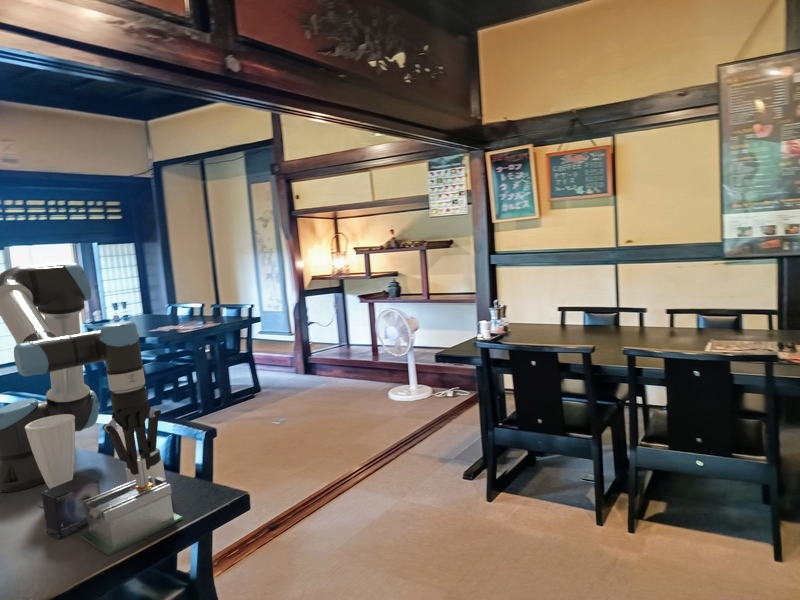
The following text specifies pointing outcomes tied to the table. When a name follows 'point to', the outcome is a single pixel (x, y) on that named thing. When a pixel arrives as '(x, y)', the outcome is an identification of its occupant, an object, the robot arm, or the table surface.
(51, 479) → the cup
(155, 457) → the jar
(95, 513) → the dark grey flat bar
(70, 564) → the table surface
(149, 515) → the heatsink
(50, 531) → the small box
